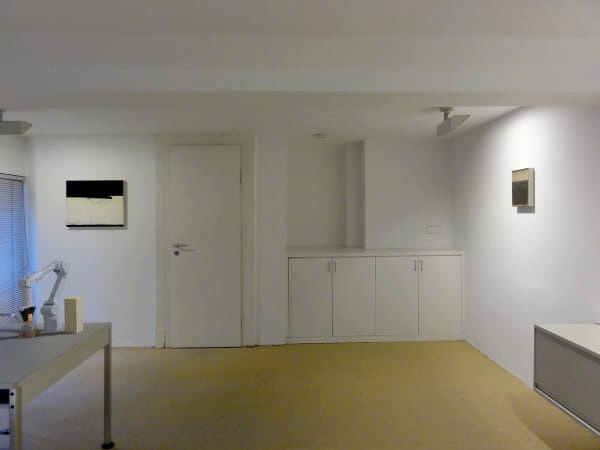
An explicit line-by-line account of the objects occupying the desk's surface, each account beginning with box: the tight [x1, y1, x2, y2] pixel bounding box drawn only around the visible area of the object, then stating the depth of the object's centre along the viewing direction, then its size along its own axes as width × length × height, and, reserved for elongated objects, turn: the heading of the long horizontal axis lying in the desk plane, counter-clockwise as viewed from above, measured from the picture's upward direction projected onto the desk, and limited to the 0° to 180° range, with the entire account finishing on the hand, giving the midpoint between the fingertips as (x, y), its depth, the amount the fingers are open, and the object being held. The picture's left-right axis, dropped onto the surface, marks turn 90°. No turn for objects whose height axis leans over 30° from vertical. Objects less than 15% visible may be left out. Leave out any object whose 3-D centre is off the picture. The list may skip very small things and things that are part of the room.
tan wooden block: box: [63, 296, 84, 334], centre depth 266 cm, size 8×7×21 cm
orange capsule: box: [23, 314, 33, 325], centre depth 258 cm, size 4×4×5 cm
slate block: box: [20, 323, 38, 332], centre depth 259 cm, size 6×6×4 cm
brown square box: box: [18, 328, 41, 339], centre depth 259 cm, size 8×8×4 cm
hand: (27, 320), depth 258 cm, fingers closed on orange capsule, 4 cm apart
